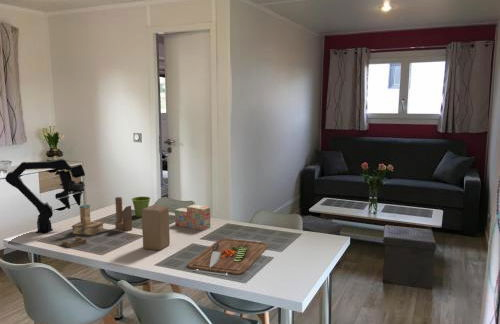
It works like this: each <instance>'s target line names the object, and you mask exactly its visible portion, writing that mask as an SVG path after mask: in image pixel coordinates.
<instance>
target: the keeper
mask: <svg viewBox="0 0 500 324" xmlns="http://www.w3.org/2000/svg"><path fill="white" fill-rule="evenodd" d="M84 244H87V238H83V237H80V236H75V241H74V242H70V241H67V240H64V239H63V240H61V245H63V246H64V247H68V248H70V249H71V248H74V247H78V246H82V245H84Z"/></svg>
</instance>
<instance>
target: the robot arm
mask: <svg viewBox="0 0 500 324" xmlns="http://www.w3.org/2000/svg"><path fill="white" fill-rule="evenodd" d="M44 169H51V170H56V172H55V174H54V175H55V176H59V179H60V184H59V185H60V187H61V186H62V188H63V189H62V191H61V192H58V193H55V194H54V197H55V199H56V200H58V201H59V202H61V203H62V204H63V205H64V206H65V207H66V208H67V209H68V210H70V209H71V205H70V200H69V199H70V198H71V197H70V195H71V194H72V195H71V196H72V197H73V199H74V201H75V203H76V204H77V206H79V207H80V206H81V202H82V201H81V198H82V195H83V193H84V192H85V183H84V181H82V180H80V181H79V182H76V181H75V180H73V178H74V179H78V178H81V177H85V176H86V174H85V170H84V168H83V165H82V164H78V165H75V166H72V165H70V164H68V162H67V160H66V159H64V158H59V159H53V160H49V161H22V162H21V163H20V164H19V165H18V166H17V167H16V168H15V169H14V170H13V171H9V172H8V173H7V174H6V176H5V182H7V183H8V184H9V185H11V187H14V188H16V189H17V190H18V191H19V192H20V193H21V194H22V195H23V196H24V197H25V198H26V199H27V200H28V201H29V202H30V204H32V205H33V206H34V207H35V208H36V210H37V211H38V213H39V214H38V215H37V221H36V225H37V226H36V227H37V230H36V231H35V233H38V234H39V233H40V234H47V233H50V232H51V231H53V230H54V229H53V228H52V222H51V220H50V219H51V218H52V217H53V214H54V211H53V207H52V206H51V205H50V204H49V202H46V203H45V202H43V201H41V199H39V197H38V196H37V195H36V194H35V193H34V192H33V191H32V190H30V188H29V187H28V186H27V185H26V184H25V183H24V182H23V179H22V178H21V177H20V176H22V174H23V173H24V172H25V171H26V170H44ZM65 170H66V171H65Z"/></svg>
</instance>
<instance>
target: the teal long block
mask: <svg viewBox="0 0 500 324" xmlns="http://www.w3.org/2000/svg"><path fill="white" fill-rule="evenodd" d="M79 218H80V222H81V226H88V225H91V222H92V221H91V209H90V204H82V205H79Z"/></svg>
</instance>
